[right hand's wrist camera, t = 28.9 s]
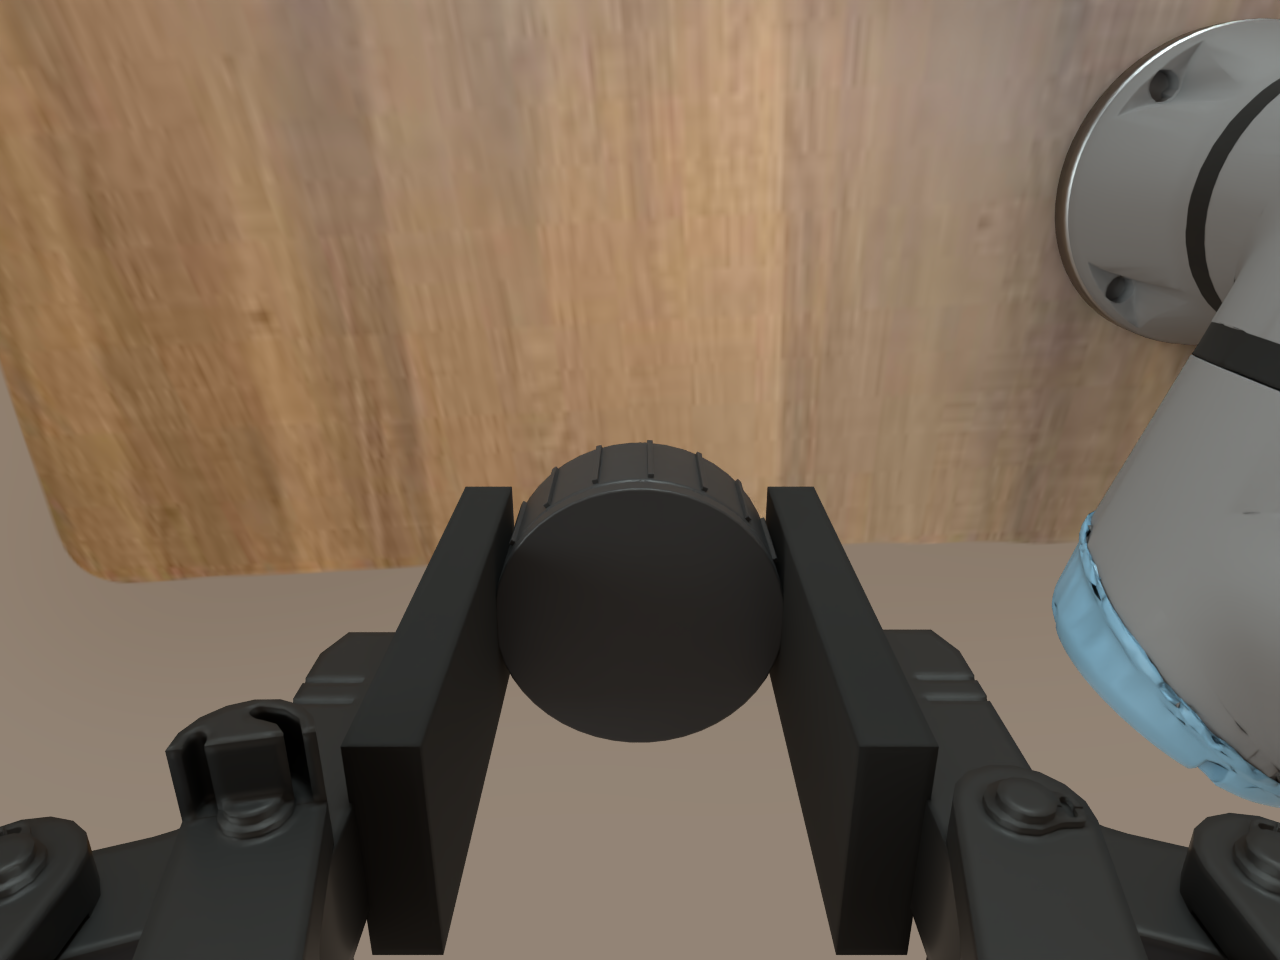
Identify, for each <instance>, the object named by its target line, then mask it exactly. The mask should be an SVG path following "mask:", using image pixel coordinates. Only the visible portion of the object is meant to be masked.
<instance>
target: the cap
mask: <svg viewBox="0 0 1280 960" xmlns="http://www.w3.org/2000/svg"><path fill="white" fill-rule="evenodd" d="M509 544H510V546H509V550H508V553H507V556H506V559H505V562H504V566H503V569H502V572H501V575H500V579H499V582H498V586H497V590H496V609H497V623H498V638H499V650H500V653H501V656H502V658H503V661H504V663H505V665H506V667H507V669H508V671H509V672H510V674H511V676H512V678H513V679H514V681H515V682H516V683H517V685H518V686H519V687H520V689H521V690H522V691H523V692H524V693H525V694H526V695H527V696H528V698H529V699H531V701H532V702H533V703H534V704H536V705H537V706H538V707H539V708H541V709H542V710H543V711H544V712H546V713H547V714H548V715H550V716H551V717H553V718H555V719H556V720H558V721H559V722H561V723H563V724H565V725H567V726H569V727H571V728H573V729H575V730H578V731H580V732H583V733H586V734H589V735H592V736H595V737H599V738H604V739H608V740H613V741H622V742H657V741H666V740H671V739H675V738H680V737H684V736H687V735H690V734H693V733H696V732H699V731H702V730H704V729H706V728H708V727H710V726H712V725H714V724H716V723H718V722H720V721H721V720H723V719H725V718H726V717H728V716H729V715H731V714H732V713H733V712H735V711H736V710H737V709H739V708H740V707H741V706H742V705H744V704H745V703H746V702H747V701H748V700H749V699H750V698H751V696H752V695H753V694H754V693H755V692H756V691H757V690H758V689H759V687H760V686H761V685H762V683H763V682H764V681H765V679H766V678H767V676H768V674H769V672H770V671H771V669H772V667H773V665H774V663H775V661H776V658H777V656H778V653H779V651H780V643H781V630H782V615H783V599H784V596H783V590H782V586H781V582H780V579H779V575H778V572H777V569H776V566H775V563H777V562H778V559H777V556H776V553H775V549H774V546H773V543H772V540H771V537H770V534H769V531H768V528H767V524H766V521H765V519H764V518H761V519H760V517H759V514H758V512H757V510H756V508H755V507H754V505H753V503H752V501H751V500H750V498H749V497H748V495H747V494H746V493H745V492H744V490H743V487H742V484H741V482H740V481H739V480H738V479H737V480H736V481H735V480H733V479H732V478H731V477H730V476H729V475H728V474H727V473H726V472H724V471H723V470H722V469H720V468H719V467H718V466H716V465H715V464H713V463H711V462H710V461H708V460H706V459H704V458H702V454H701V453H699V452H697V453H696V454H693V453H691V452H688V451H686V450H683V449H679V448H675V447H671V446H667V445H661V444H653V441H652V440H647V443H641V442H640V443H626V444H618V445H612V446H608V447H604V448H602V445H599V446H596V450H593V451H591V452H588V453H586V454H583V455H581V456H579V457H577V458H575V459H573V460H571V461H569V462H568V463H566V464H564V465H563V466H562V467H560V468H559V469H558V468H557V467H555V468H553V469H552V472H551V475H550V476H549V477H548V478H547V479H546V480H545V481H544V482H543V483H541V484H540V485H539V487H538V488H537V489H536V490H535V492H534V493H533V494H532V496H531V497H530V498H529V500H528V502H525V501H523V503H522V504H521V507H520V511H519V514H518V517H517V520H516V523H515V527H514V530H513V533H512V536H511V539H510V542H509Z"/></svg>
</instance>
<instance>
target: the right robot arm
mask: <svg viewBox="0 0 1280 960" xmlns="http://www.w3.org/2000/svg"><path fill="white" fill-rule="evenodd" d="M1055 228H1056V237H1057V243H1058V248H1059V252H1060V256H1061V259H1062V262H1063V265H1064V267H1065V270H1066V272H1067V274H1068V276H1069V278H1070V280H1071V282H1072V284H1073V285H1074V287H1075V288H1076V290H1077V291H1078V293H1079V294H1080V295H1081V297H1082V298H1083V299H1084V300H1085V301H1086V302H1087V303H1088V305H1089V306H1091V307H1092V308H1093V309H1094V310H1095V311H1096V312H1097V313H1098V314H1100V315H1101V316H1103V317H1104V318H1106V319H1107V320H1108V321H1110V322H1112V323H1114V324H1116V325H1118V326H1119V327H1122V328H1124V329H1126V330H1129V331H1131V332H1134V333H1136V334H1139V335H1141V336H1143V337H1146V338H1150V339H1153V340H1157V341H1162V342H1168V343H1178V344H1187V345H1197V347H1196V348H1195V350H1194V352H1193V353H1192V354H1193V355H1190V357H1189V359H1188V360H1187V362H1186V364H1185V365H1184V367H1183V368H1182V370H1181V372H1180V373H1179V375H1178V377H1177V378H1176V380H1175V381H1174V383H1173V385H1172V386H1171V388H1170V390H1169V391H1168V393H1167V395H1166V396H1165V398H1164V399H1163V401H1162V403H1161V404H1160V406H1159V408H1158V409H1157V411H1156V413H1155V414H1154V416H1153V417H1152V419H1151V421H1150V422H1149V424H1148V426H1147V427H1146V429H1145V430H1144V432H1143V434H1142V435H1141V437H1140V439H1139V440H1138V442H1137V444H1136V445H1135V447H1134V448H1133V450H1132V452H1131V453H1130V455H1129V457H1128V458H1127V460H1126V461H1125V463H1124V465H1123V466H1122V468H1121V470H1120V471H1119V473H1118V475H1117V476H1116V478H1115V479H1114V481H1113V483H1112V484H1111V486H1110V488H1109V489H1108V491H1107V492H1106V494H1105V496H1104V497H1103V499H1102V501H1101V502H1100V504H1099V506H1098V507H1097V509H1096V510H1095V511H1094V512H1092V513H1090V514H1088V516H1087V517H1086V519H1085V521H1084V522H1083V524H1082V526H1081V530H1080V533H1079V543H1078V545H1077V546H1076V548H1075V550H1074V552H1073V554H1072V556H1071V558H1070V560H1069V561H1068V563H1067V565H1066V567H1065V569H1064V571H1063V573H1062V575H1061V576H1060V578H1059V580H1058V582H1057V584H1056V587H1055V590H1054V594H1053V599H1052V609H1053V614H1054V619H1055V622H1056V630H1057V634H1058V636H1059V639H1060V641H1061V643H1062V645H1063V647H1064V649H1065V651H1066V652H1067V654H1068V656H1069V657H1070V659H1071V660H1072V662H1073V663H1074V665H1075V666H1076V668H1077V669H1078V671H1079V672H1080V673H1081V674H1082V676H1083V677H1084V678H1085V680H1086V681H1087V682H1088V683H1089V684H1090V686H1091V687H1092V688H1093V689H1094V690H1095V691H1096V692H1097V693H1098V694H1099V696H1100V697H1101V698H1102V699H1103V700H1104V701H1105V702H1106V703H1107V704H1108V705H1109V706H1110V707H1111V708H1112V709H1113V710H1114V711H1115V712H1116V713H1117V714H1118V715H1119V716H1121V717H1122V718H1123V719H1124V720H1125V721H1126V722H1127V723H1128V724H1129V725H1130V726H1132V727H1133V728H1134V729H1135V730H1136V731H1137V732H1138V733H1140V734H1141V735H1142V736H1143V737H1145V738H1146V739H1147V740H1148V741H1150V742H1151V743H1152V744H1153V745H1155V746H1156V747H1157V748H1159V749H1160V750H1161V751H1163V752H1164V753H1165V754H1167V755H1168V756H1170V757H1171V758H1172V759H1174V760H1175V761H1177V762H1178V763H1180V764H1182V765H1183V766H1185V767H1187V768H1196V767H1198V768H1199V769H1200V770H1201V771H1202V772H1204V773H1205V774H1206V775H1207V776H1208V777H1209V778H1210V780H1211V781H1212V782H1213V783H1214V784H1215V785H1217V786H1218V787H1220V788H1222V789H1224V790H1226V791H1228V792H1230V793H1232V794H1235V795H1237V796H1239V797H1241V798H1244V799H1246V800H1249V801H1252V802H1255V803H1259V804H1263V805H1268V806H1272V807H1277V808H1280V19H1268V18H1264V19H1247V20H1240V21H1233V22H1228V23H1222V24H1216V25H1212V26H1208V27H1204V28H1200V29H1197V30H1194V31H1192V32H1189V33H1186V34H1183V35H1181V36H1179V37H1177V38H1175V39H1172V40H1170V41H1168V42H1166V43H1165V44H1163V45H1161V46H1159V47H1158V48H1156V49H1154V50H1152V51H1151V52H1150V53H1148V54H1147V55H1145V56H1144V57H1142V58H1141V59H1139V60H1138V61H1137V62H1136V63H1134V64H1133V65H1132V66H1131V67H1130V68H1128V69H1127V70H1126V71H1125V72H1124V73H1123V74H1122V75H1121V76H1119V77H1118V78H1117V79H1116V80H1115V81H1114V82H1113V83H1112V84H1111V85H1110V87H1109V88H1108V89H1107V90H1106V91H1105V92H1104V93H1103V95H1102V96H1101V97H1100V98H1099V99H1098V101H1097V102H1096V103H1095V105H1094V106H1093V107H1092V109H1091V110H1090V112H1089V113H1088V115H1087V116H1086V118H1085V120H1084V121H1083V123H1082V124H1081V126H1080V128H1079V130H1078V132H1077V134H1076V135H1075V137H1074V139H1073V141H1072V144H1071V146H1070V149H1069V151H1068V153H1067V156H1066V159H1065V162H1064V165H1063V168H1062V171H1061V175H1060V179H1059V184H1058V188H1057V196H1056V204H1055ZM1194 355H1195V356H1194ZM766 524H767V528H768V531H769V534H770V537H771V540H772V543H773V546H774V549H775V553H776V556H777V559H778V562H777V563H775V566H776V569H777V572H778V575H779V579H780V582H781V586H782V590H783V596H784V599H783V615H782V630H781V643H780V651H779V653H778V656H777V658H776V661H775V663H774V665H773V667H772V669H771V671H770V672H769V673H770V677H771V682H772V686H773V690H774V694H775V698H776V703H777V707H778V711H779V715H780V720H781V724H782V728H783V732H784V736H785V741H786V745H787V749H788V753H789V758H790V762H791V766H792V770H793V775H794V779H795V783H796V787H797V791H798V796H799V800H800V804H801V808H802V813H803V817H804V821H805V825H806V829H807V834H808V838H809V842H810V846H811V851H812V855H813V859H814V863H815V867H816V872H817V876H818V880H819V884H820V889H821V893H822V897H823V901H824V905H825V910H826V914H827V918H828V922H829V926H830V931H831V935H832V939H833V943H834V948H835V952H836V955H907V952H908V945H909V939H910V932H911V926H912V919H913V917H914V920H915V923H916V926H917V929H918V932H919V935H920V937H921V940H922V943H923V946H924V949H925V952H926V955H927V958H926V960H1280V823H1279V822H1275V821H1272V820H1269V819H1266V818H1263V817H1260V816H1253V815H1244V814H1235V813H1227V814H1221V815H1216V816H1211V817H1207V818H1206V819H1205V820H1203V821H1202V822H1201V823H1200V824H1199V825H1198V826H1197V827H1196V828H1195V829H1194V831H1193V834H1192V838H1191V841H1190V845H1189V848H1188V847H1184V846H1179V845H1175V844H1170V843H1166V842H1161V841H1157V840H1153V839H1149V838H1144V837H1140V836H1136V835H1131V834H1127V833H1124V832H1120V831H1117V830H1114V829H1110V828H1107V827H1104V826H1102V825H1099V823H1098V820H1097V819H1096V817H1095V815H1094V814H1093V812H1092V811H1091V809H1090V808H1089V806H1088V804H1087V803H1086V801H1084V800H1083V799H1082V798H1081V797H1080V796H1078V795H1077V794H1076V793H1075V792H1074V791H1072V790H1071V789H1070V788H1069V787H1067V786H1066V785H1065V784H1063V783H1061V782H1059V781H1057V780H1055V779H1053V778H1051V777H1049V776H1047V775H1044V774H1042V773H1040V772H1037V771H1033V770H1032V769H1031V768H1030V766H1029V765H1028V763H1027V761H1026V760H1025V758H1024V756H1023V755H1022V753H1021V751H1020V750H1019V748H1018V746H1017V745H1016V743H1015V742H1014V740H1013V738H1012V737H1011V735H1010V733H1009V732H1008V730H1007V728H1006V727H1005V725H1004V723H1003V722H1002V720H1001V719H1000V717H999V715H998V714H997V712H996V710H995V709H994V707H993V705H992V704H991V702H990V701H987V696H986V694H985V692H984V691H983V689H982V687H981V686H980V684H979V683H978V681H977V680H974V674H973V673H972V671H971V669H970V668H969V666H968V664H967V663H966V661H965V659H964V658H963V656H962V655H961V653H960V651H959V650H957V649H956V648H955V647H953V646H952V645H951V644H949V643H948V642H947V641H945V640H944V639H943V638H941V637H940V636H939V635H937V634H936V633H935V632H933V631H932V630H883V629H882V627H881V625H880V623H879V621H878V619H877V617H876V615H875V613H874V611H873V609H872V607H871V605H870V603H869V600H868V598H867V596H866V594H865V592H864V590H863V588H862V586H861V584H860V582H859V580H858V578H857V576H856V574H855V571H854V570H853V567H852V565H851V563H850V561H849V559H848V557H847V555H846V553H845V551H844V549H843V547H842V544H841V542H840V540H839V538H838V536H837V534H836V532H835V530H834V528H833V526H832V524H831V522H830V520H829V518H828V515H827V513H826V511H825V509H824V507H823V505H822V503H821V501H820V499H819V497H818V495H817V493H816V491H815V488H814V487H768V489H767V507H766ZM513 530H514V516H513V499H512V487H465V489H464V491H463V494H462V496H461V498H460V500H459V502H458V504H457V506H456V508H455V510H454V512H453V514H452V516H451V518H450V520H449V523H448V525H447V527H446V529H445V531H444V533H443V535H442V537H441V539H440V541H439V543H438V545H437V547H436V549H435V552H434V554H433V556H432V558H431V560H430V562H429V564H428V566H427V568H426V570H425V572H424V574H423V576H422V579H421V581H420V583H419V585H418V587H417V589H416V591H415V593H414V595H413V597H412V599H411V601H410V603H409V605H408V608H407V610H406V612H405V614H404V616H403V618H402V620H401V622H400V624H399V626H398V628H397V630H396V632H349V633H347V634H346V635H345V636H343V637H342V638H341V639H339V640H338V641H337V642H335V643H334V644H333V645H331V646H330V647H329V648H327V649H326V650H325V651H323V652H322V653H321V654H320V655H319V657H318V659H317V660H316V662H315V664H314V665H313V667H312V669H311V670H310V672H309V674H308V675H307V677H306V682H305V683H303V684H302V685H301V687H300V688H299V690H298V692H297V693H296V695H295V697H294V698H293V703H292V702H288V701H284V700H280V699H275V700H274V699H273V700H251V701H247V702H242V703H238V704H233V705H229V706H225V707H223V708H221V709H218V710H216V711H214V712H212V713H209V714H207V715H205V716H202V717H200V718H199V719H197V720H196V721H195V722H193V723H192V724H190V725H189V726H188V727H186V728H185V729H183V730H182V731H181V732H179V733H178V734H177V736H176V737H175V738H174V740H173V741H172V743H171V744H170V745H169V747H168V748H167V749H166V751H165V752H166V756H167V760H168V764H169V768H170V772H171V777H172V781H173V785H174V789H175V793H176V797H177V801H178V805H179V809H180V813H181V817H182V824H181V827H180V829H177V830H175V831H171V832H168V833H165V834H161V835H158V836H155V837H151V838H147V839H143V840H138V841H134V842H129V843H125V844H121V845H116V846H112V847H108V848H103V849H99V850H94V851H92V850H91V847H90V844H89V840H88V837H87V833H86V832H85V831H84V830H83V829H82V828H81V827H80V826H78V825H77V824H76V823H75V822H74V821H71V820H66V819H61V818H55V817H43V818H34V819H25V820H20V821H17V822H14V823H11V824H7V825H5V826H1V827H0V960H354V955H355V952H356V949H357V946H358V943H359V940H360V937H361V934H362V931H363V928H364V926H365V923H366V920H367V923H368V929H369V936H370V942H371V949H372V954H373V955H443V954H444V950H445V945H446V941H447V937H448V933H449V928H450V924H451V920H452V916H453V912H454V907H455V903H456V899H457V895H458V890H459V886H460V882H461V878H462V874H463V869H464V865H465V861H466V856H467V852H468V848H469V844H470V840H471V835H472V831H473V827H474V823H475V818H476V814H477V810H478V806H479V802H480V798H481V793H482V789H483V785H484V781H485V776H486V772H487V768H488V764H489V759H490V755H491V751H492V747H493V743H494V738H495V734H496V730H497V726H498V722H499V717H500V713H501V709H502V705H503V700H504V696H505V692H506V688H507V684H508V679H509V675H510V672H509V671H508V669H507V667H506V665H505V663H504V661H503V658H502V656H501V653H500V650H499V638H498V623H497V609H496V590H497V586H498V582H499V579H500V575H501V572H502V569H503V566H504V562H505V559H506V556H507V553H508V550H509V546H510V544H509V542H510V539H511V536H512V533H513Z"/></svg>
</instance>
